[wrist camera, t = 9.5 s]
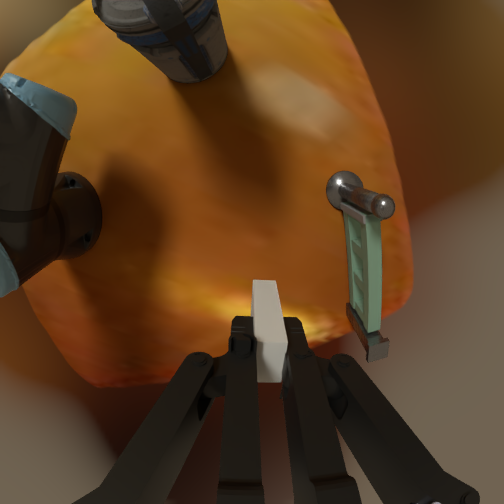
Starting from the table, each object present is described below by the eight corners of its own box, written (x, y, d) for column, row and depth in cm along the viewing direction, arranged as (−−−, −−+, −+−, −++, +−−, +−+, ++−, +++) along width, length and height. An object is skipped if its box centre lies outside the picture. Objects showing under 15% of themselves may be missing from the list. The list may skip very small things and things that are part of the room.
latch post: (344, 316, 47) (367, 362, 35) (344, 301, 46) (369, 346, 34) (360, 312, 47) (387, 357, 35) (360, 298, 46) (389, 340, 34)
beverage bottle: (184, 110, 35) (98, 58, 12) (151, 47, 31) (65, -28, 8) (247, 78, 34) (242, -17, 10) (209, 17, 30) (172, -87, 6)
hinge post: (328, 212, 41) (365, 241, 27) (323, 173, 39) (360, 183, 25) (364, 206, 40) (412, 232, 27) (360, 168, 38) (409, 178, 25)
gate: (340, 202, 39) (362, 216, 31) (356, 200, 39) (381, 212, 31) (348, 303, 45) (366, 333, 36) (362, 299, 45) (381, 328, 36)
